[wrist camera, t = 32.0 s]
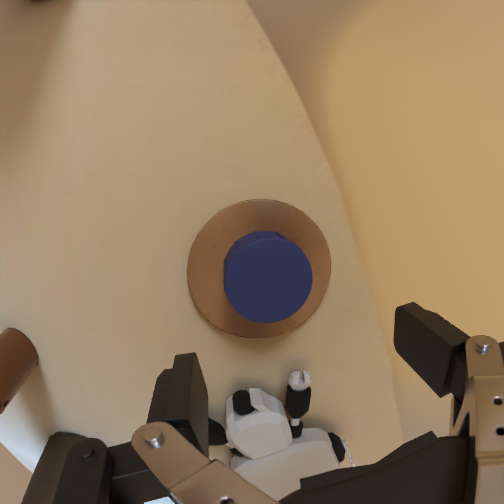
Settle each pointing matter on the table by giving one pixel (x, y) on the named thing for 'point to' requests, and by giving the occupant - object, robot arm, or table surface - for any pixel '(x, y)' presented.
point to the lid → (266, 277)
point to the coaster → (223, 238)
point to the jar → (14, 364)
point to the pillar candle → (50, 468)
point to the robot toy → (276, 438)
